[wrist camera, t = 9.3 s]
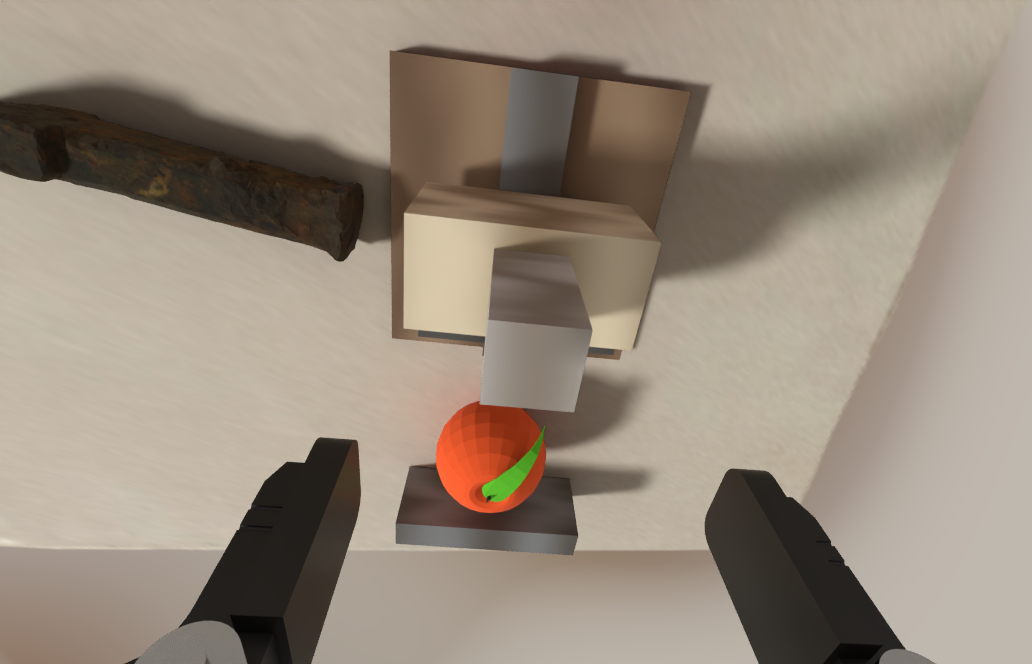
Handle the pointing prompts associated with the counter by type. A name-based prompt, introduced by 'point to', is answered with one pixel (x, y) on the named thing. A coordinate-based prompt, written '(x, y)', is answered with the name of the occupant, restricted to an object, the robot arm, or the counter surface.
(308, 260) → the counter surface
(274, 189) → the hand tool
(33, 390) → the counter surface
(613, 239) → the jaw
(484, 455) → the clementine
